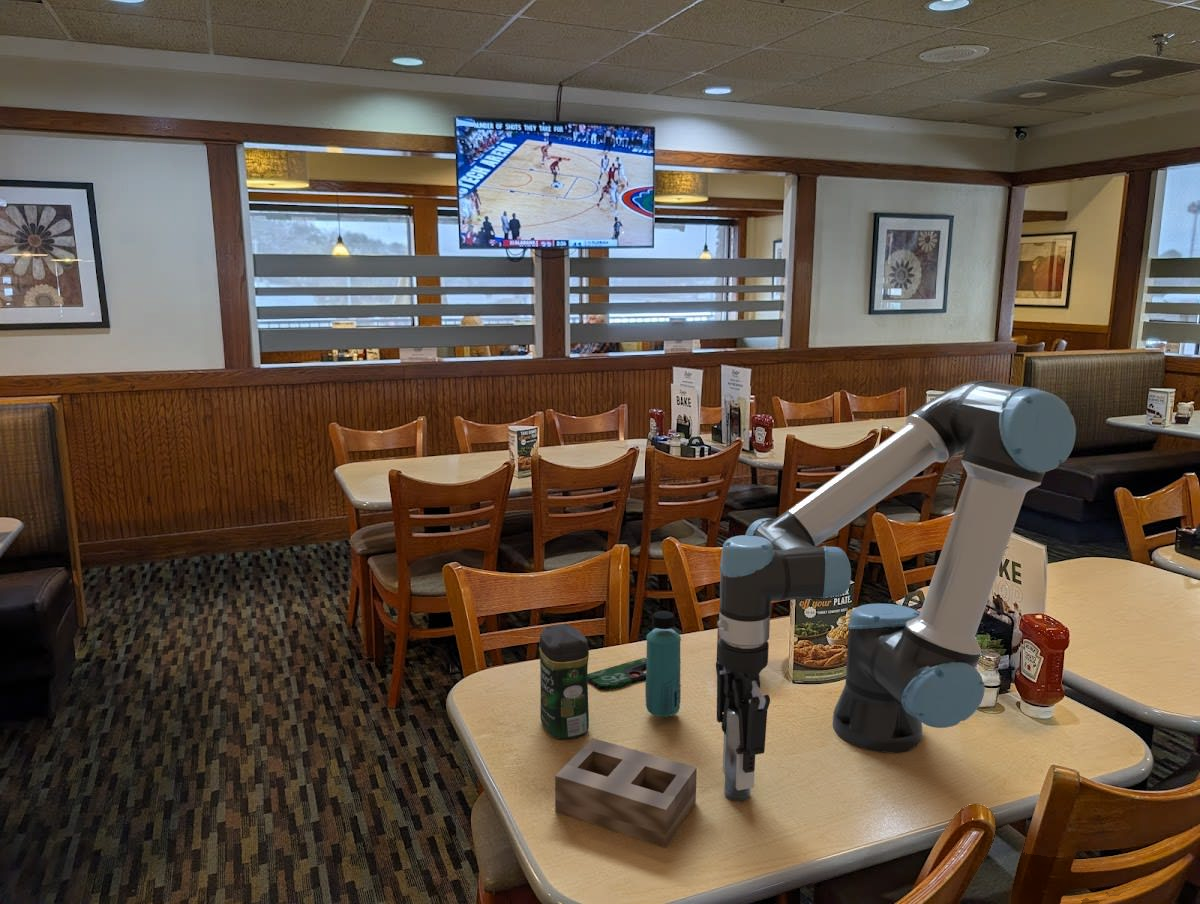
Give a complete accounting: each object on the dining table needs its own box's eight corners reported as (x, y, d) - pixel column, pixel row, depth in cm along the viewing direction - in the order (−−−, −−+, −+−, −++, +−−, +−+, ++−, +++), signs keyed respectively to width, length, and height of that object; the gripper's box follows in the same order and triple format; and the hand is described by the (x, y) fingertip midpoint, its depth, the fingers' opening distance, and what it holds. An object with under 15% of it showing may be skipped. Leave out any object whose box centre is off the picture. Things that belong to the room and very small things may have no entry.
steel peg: (753, 791, 133) (756, 709, 130) (745, 804, 129) (749, 721, 127) (729, 784, 135) (732, 703, 132) (720, 797, 131) (723, 714, 128)
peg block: (695, 802, 130) (696, 767, 129) (665, 847, 119) (666, 809, 118) (592, 771, 138) (592, 738, 137) (555, 811, 128) (555, 775, 126)
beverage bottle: (678, 726, 152) (680, 622, 148) (641, 722, 153) (643, 619, 149) (682, 708, 158) (684, 608, 154) (647, 705, 160) (648, 605, 156)
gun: (609, 693, 162) (582, 673, 170) (608, 700, 162) (582, 679, 171) (676, 672, 171) (647, 654, 179) (676, 679, 171) (647, 660, 179)
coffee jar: (534, 718, 155) (533, 623, 151) (575, 710, 158) (575, 617, 154) (552, 745, 146) (551, 644, 142) (594, 736, 149) (594, 637, 145)
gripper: (697, 620, 134) (693, 754, 138) (747, 666, 118) (741, 816, 122) (740, 615, 136) (734, 747, 141) (794, 659, 120) (786, 806, 125)
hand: (737, 779), depth 132 cm, fingers closed on steel peg, 4 cm apart
